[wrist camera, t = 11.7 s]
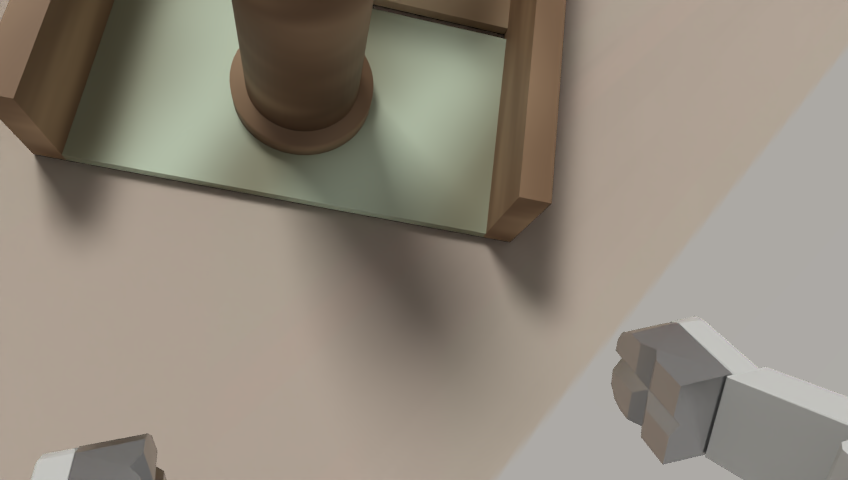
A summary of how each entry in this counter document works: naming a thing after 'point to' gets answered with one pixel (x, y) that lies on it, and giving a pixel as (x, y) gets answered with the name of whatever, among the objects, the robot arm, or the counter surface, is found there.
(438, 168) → the bay
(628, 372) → the robot arm
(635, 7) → the counter surface
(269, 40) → the brown wooden pepper mill
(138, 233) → the counter surface
